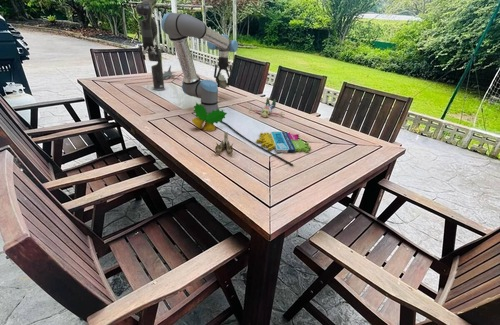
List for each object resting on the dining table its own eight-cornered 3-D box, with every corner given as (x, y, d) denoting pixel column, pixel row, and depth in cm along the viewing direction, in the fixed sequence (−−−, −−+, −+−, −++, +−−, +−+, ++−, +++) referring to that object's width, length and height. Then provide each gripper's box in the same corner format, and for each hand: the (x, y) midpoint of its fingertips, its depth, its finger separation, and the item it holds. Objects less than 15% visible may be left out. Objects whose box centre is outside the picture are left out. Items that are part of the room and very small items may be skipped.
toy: (288, 100, 208) (284, 110, 182) (287, 109, 211) (283, 120, 186) (254, 96, 213) (245, 105, 187) (254, 104, 216) (245, 115, 190)
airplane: (146, 75, 285) (145, 65, 280) (175, 73, 298) (174, 64, 293) (152, 84, 257) (151, 73, 252) (184, 82, 270) (183, 72, 265)
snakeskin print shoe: (218, 88, 209) (218, 76, 205) (213, 81, 230) (213, 70, 225) (228, 88, 212) (228, 76, 207) (222, 81, 232) (223, 70, 227)
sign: (313, 150, 142) (258, 149, 139) (312, 153, 143) (258, 152, 140) (301, 132, 164) (254, 130, 161) (301, 134, 165) (254, 133, 162)
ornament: (218, 133, 171) (224, 110, 169) (221, 134, 163) (227, 111, 161) (186, 125, 162) (192, 101, 160) (189, 126, 155) (195, 101, 153)
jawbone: (234, 135, 144) (233, 125, 135) (233, 160, 138) (232, 151, 129) (217, 135, 144) (216, 125, 135) (216, 160, 138) (214, 150, 129)
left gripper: (153, 35, 198) (156, 58, 206) (135, 35, 189) (138, 59, 196) (158, 36, 193) (161, 60, 201) (140, 36, 184) (143, 61, 192)
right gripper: (235, 56, 207) (234, 85, 219) (209, 55, 202) (210, 85, 213) (237, 57, 201) (236, 87, 212) (210, 57, 196) (211, 88, 207)
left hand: (149, 59), depth 199 cm, fingers open, 8 cm apart
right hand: (223, 86), depth 213 cm, fingers closed on snakeskin print shoe, 7 cm apart
